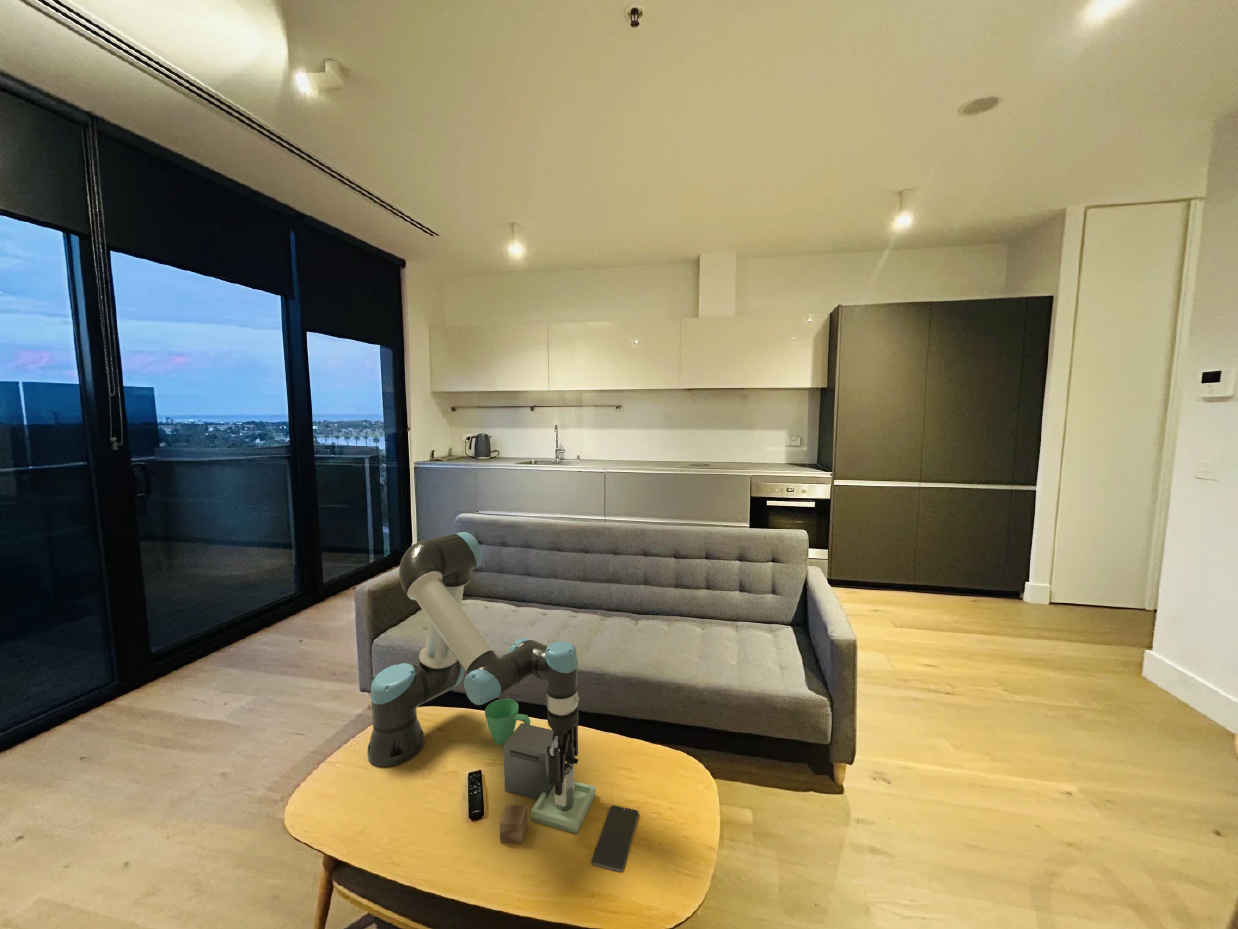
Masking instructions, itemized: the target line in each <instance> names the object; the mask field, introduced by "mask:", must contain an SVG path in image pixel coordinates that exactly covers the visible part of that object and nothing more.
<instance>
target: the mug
mask: <svg viewBox="0 0 1238 929" xmlns="http://www.w3.org/2000/svg"><path fill="white" fill-rule="evenodd" d="M484 715H485V719H486V723H487V726H488V730H489V733H490V735H491V737H492V740H493V742H494V744H496V745H499V746H504V743H505V742H506V741H507V739H508V738H509V737H510V736H511V735H512V733H513V732H514V731H515V730H516V725H517V721H520V722H522V723H524V724H528V725H531V719H530V717H529V716H528V714H521V713H519V704H518V702H517V701H515V700H513V699H510V698H502V699H497V700H495V701H494V700H493V701H492V702H491V703H489V704H487V705H486V707H485V710H484Z"/></svg>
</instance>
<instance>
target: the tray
mask: <svg viewBox="0 0 1238 929" xmlns="http://www.w3.org/2000/svg"><path fill="white" fill-rule="evenodd" d="M553 786H554V785H551V786H550V788H549V789H551V791H549V789H548V791H549V792H548V791H547V792H548V796H547V793H543V792H542V794H541V796H540V797H539V799H538V800H536V802H535V804H534V805H533V807H532V808H531V810H530V820H531V821H532V822H535V823H539V824H541V825H545V826H547V827H548V826H549V827H553V828H556V829H559V830H563V831H565V832H569V833H573V834H576V835H577V834H578V833H579V831H580V828H581V826H582V824H583V823H584V820H585V818H586V816H587V814H588V812H589V810H590V807H591V805H592V803H593V801H594V800H595V797H596V793H597V792H596V786H595V785H592V784H587V783H584V782H580V781H576V780H575V789H574V805H573V807H572V808H571V809H570V810H568V811H560V810H558V809H557V807H556V804H555V788H554V787H553ZM551 787H553V789H552V788H551Z"/></svg>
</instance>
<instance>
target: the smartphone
mask: <svg viewBox="0 0 1238 929" xmlns="http://www.w3.org/2000/svg"><path fill="white" fill-rule="evenodd" d="M639 814H640V812H639V810H637V809H633V808H629V807H628V808H627V807H623V806H618V805H616V804H615V805H614V804H613V805H610V806H609V809H608V812H607V815H606V817H605V818H606V819H605V821H604V824H603V827H602V830H601V833H600V835H599V838H598V842H597V844H596V846H595V850H594V851H593V852H594V853H593V856H592V859H591V861H590V862H591V865H592V866H593V867H597V868H599V869H600V868H601V869H607V870H609V871H612V872H617V873H623V872H624V870H625V866H626V863H627V859H628V855H629V850H630V849H631V848H630V847H631V844H632V841H633V836H634V834H635V829H636V826H637V822H638V818H639Z"/></svg>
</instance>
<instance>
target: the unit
mask: <svg viewBox="0 0 1238 929" xmlns="http://www.w3.org/2000/svg"><path fill="white" fill-rule="evenodd" d="M552 738H553V730H552V729H551V728H545V727H540V726H536V725H533V724H530V725H528V724H524V722H521V723H520V724H519V725H518V726H517V728H515V729H514V732H513V733H512V735H511V736H510V737H509V738H508V739H507V741H506V742H505V743H504V745H503V766H504V767H503V769H504V772H503V773H504V791H505V792H508V793H511V794H515V795H519V796H521V797H526V798H529V799H532V800H533V799H534V800H536V801H537V800H538V799H539V797H540V796H541V794H542V792H543V793H547V796H548V792H549V791H551V789H549V788H550V786H551V785H552V784H549V764H548V754H547V747H548V746H550V747H551V746H552V744H553V740H552ZM553 787H554V786H553ZM553 787H551V788H552V789H553ZM548 789H549V791H548ZM547 791H548V792H547Z"/></svg>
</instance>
